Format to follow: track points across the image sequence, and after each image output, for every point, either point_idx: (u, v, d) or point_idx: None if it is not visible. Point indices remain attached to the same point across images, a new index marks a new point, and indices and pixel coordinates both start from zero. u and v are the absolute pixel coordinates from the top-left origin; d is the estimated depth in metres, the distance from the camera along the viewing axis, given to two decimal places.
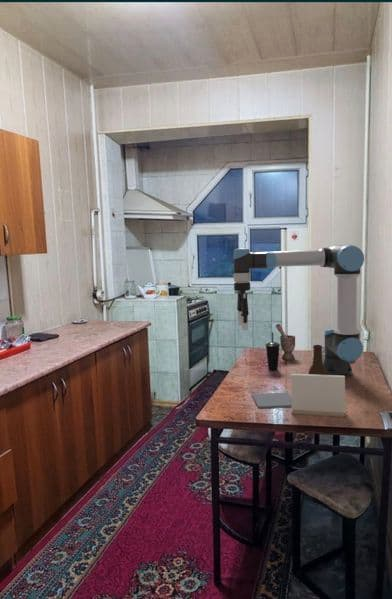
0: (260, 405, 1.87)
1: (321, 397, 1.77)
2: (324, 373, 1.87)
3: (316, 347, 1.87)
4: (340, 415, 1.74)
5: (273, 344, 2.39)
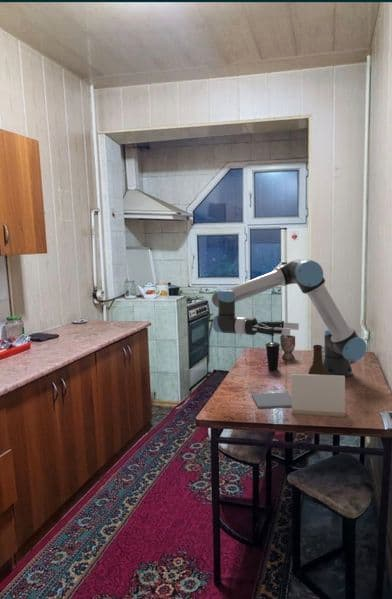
0: (260, 405, 1.87)
1: (321, 397, 1.77)
2: (324, 373, 1.87)
3: (316, 347, 1.87)
4: (340, 415, 1.74)
5: (273, 344, 2.39)
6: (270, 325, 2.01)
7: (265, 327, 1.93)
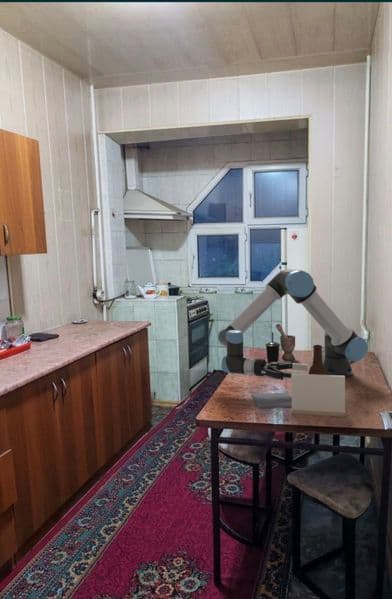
0: (260, 405, 1.87)
1: (321, 397, 1.77)
2: (324, 373, 1.87)
3: (316, 347, 1.87)
4: (340, 415, 1.74)
5: (273, 344, 2.39)
6: (279, 366, 2.00)
7: (274, 370, 1.92)
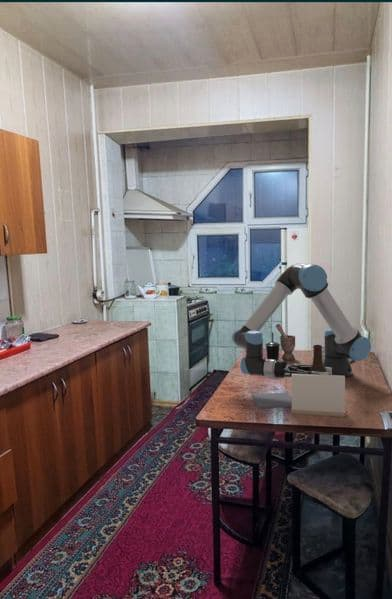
0: (260, 405, 1.87)
1: (321, 397, 1.77)
2: None
3: (316, 347, 1.87)
4: (340, 415, 1.74)
5: (273, 344, 2.39)
6: (300, 368, 1.95)
7: (299, 371, 1.90)
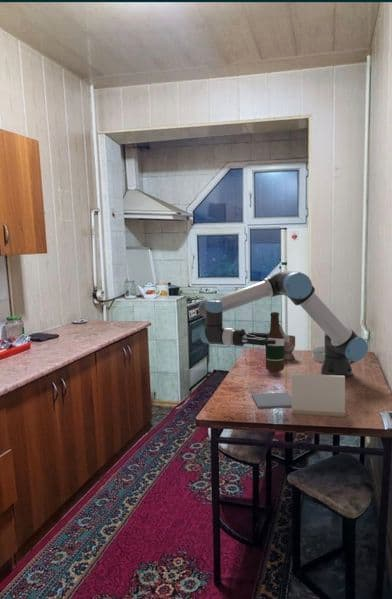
0: (260, 405, 1.87)
1: (321, 397, 1.77)
2: None
3: (273, 314, 1.88)
4: (340, 415, 1.74)
5: None
6: (258, 336, 1.96)
7: (256, 338, 1.90)
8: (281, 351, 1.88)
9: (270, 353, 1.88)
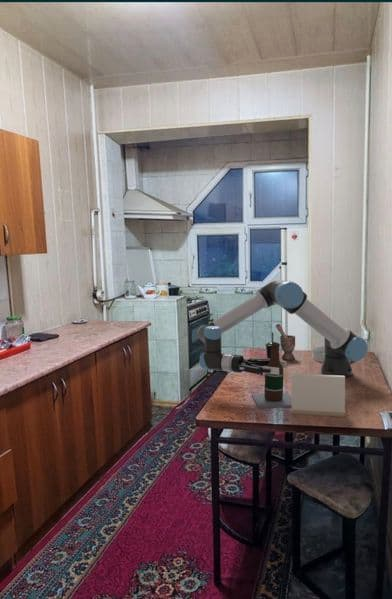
0: (260, 405, 1.87)
1: (321, 397, 1.77)
2: (280, 370, 1.90)
3: (273, 344, 1.90)
4: (340, 415, 1.74)
5: None
6: (257, 362, 1.98)
7: (253, 366, 1.91)
8: (280, 382, 1.90)
9: (269, 383, 1.90)
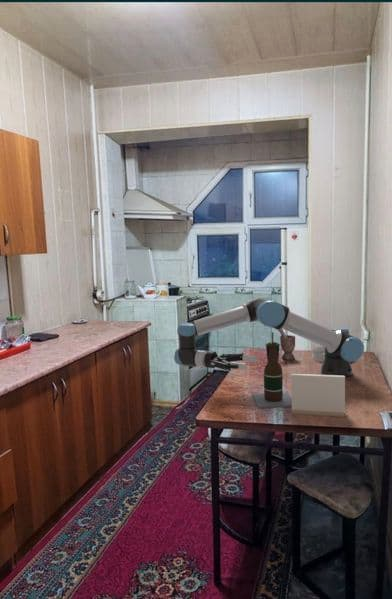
0: (260, 405, 1.87)
1: (321, 397, 1.77)
2: (279, 371, 1.89)
3: (271, 345, 1.90)
4: (340, 415, 1.74)
5: None
6: (229, 358, 2.05)
7: (223, 361, 1.97)
8: (279, 382, 1.90)
9: (268, 384, 1.90)
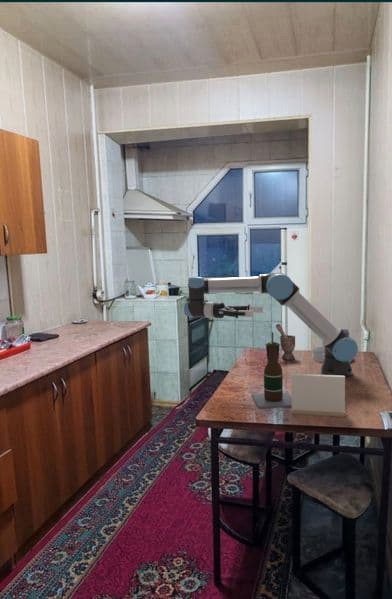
0: (260, 405, 1.87)
1: (321, 397, 1.77)
2: (279, 371, 1.89)
3: (271, 345, 1.90)
4: (340, 415, 1.74)
5: None
6: (236, 309, 2.15)
7: (230, 310, 2.07)
8: (279, 382, 1.90)
9: (268, 384, 1.90)
